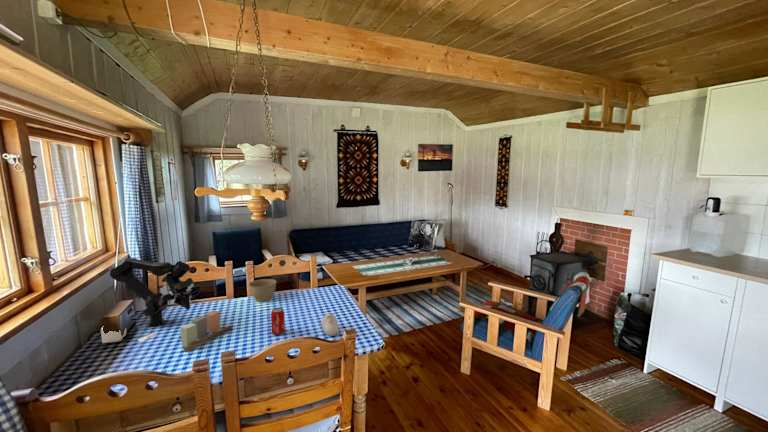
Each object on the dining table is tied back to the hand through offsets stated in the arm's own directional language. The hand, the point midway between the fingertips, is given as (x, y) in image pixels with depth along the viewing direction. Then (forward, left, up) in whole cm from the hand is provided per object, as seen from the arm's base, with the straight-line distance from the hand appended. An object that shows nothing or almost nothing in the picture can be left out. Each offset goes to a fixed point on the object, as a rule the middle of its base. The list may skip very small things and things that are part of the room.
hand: (188, 308), depth 156 cm
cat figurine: (+39, +58, -12) cm, 71 cm away
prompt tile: (+1, -15, -12) cm, 19 cm away
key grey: (+11, +3, -11) cm, 16 cm away
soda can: (+26, +36, -12) cm, 46 cm away
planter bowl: (-23, +41, -12) cm, 49 cm away
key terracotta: (+8, +9, -11) cm, 16 cm away
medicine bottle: (-11, -30, -12) cm, 34 cm away
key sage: (+17, -1, -11) cm, 20 cm away
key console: (+12, +4, -12) cm, 17 cm away
